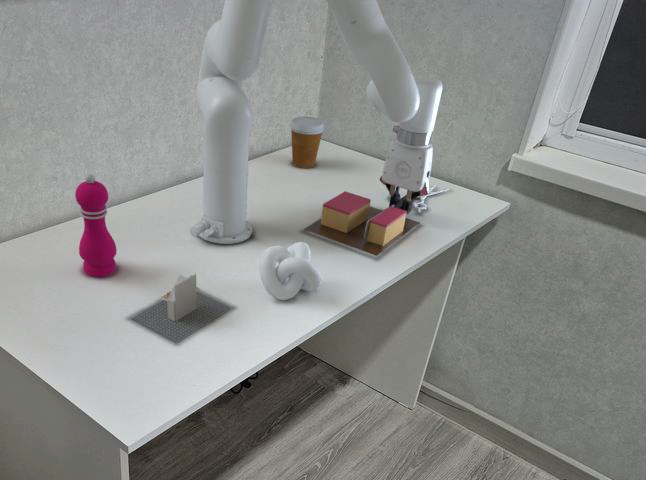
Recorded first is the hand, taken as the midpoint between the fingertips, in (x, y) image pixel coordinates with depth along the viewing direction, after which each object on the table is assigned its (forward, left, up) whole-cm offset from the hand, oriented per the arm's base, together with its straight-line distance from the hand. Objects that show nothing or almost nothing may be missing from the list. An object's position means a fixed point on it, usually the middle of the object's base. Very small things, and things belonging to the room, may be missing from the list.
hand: (398, 212), depth 154 cm
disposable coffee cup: (+15, +37, -2) cm, 40 cm away
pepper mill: (-63, +35, -2) cm, 72 cm away
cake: (-11, +9, -1) cm, 14 cm away
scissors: (+17, +1, -2) cm, 17 cm away
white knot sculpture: (-45, +2, -2) cm, 45 cm away
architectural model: (-64, +12, -2) cm, 65 cm away
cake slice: (-11, -2, -1) cm, 11 cm away
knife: (-6, 0, -1) cm, 6 cm away
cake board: (-10, +4, -2) cm, 11 cm away
